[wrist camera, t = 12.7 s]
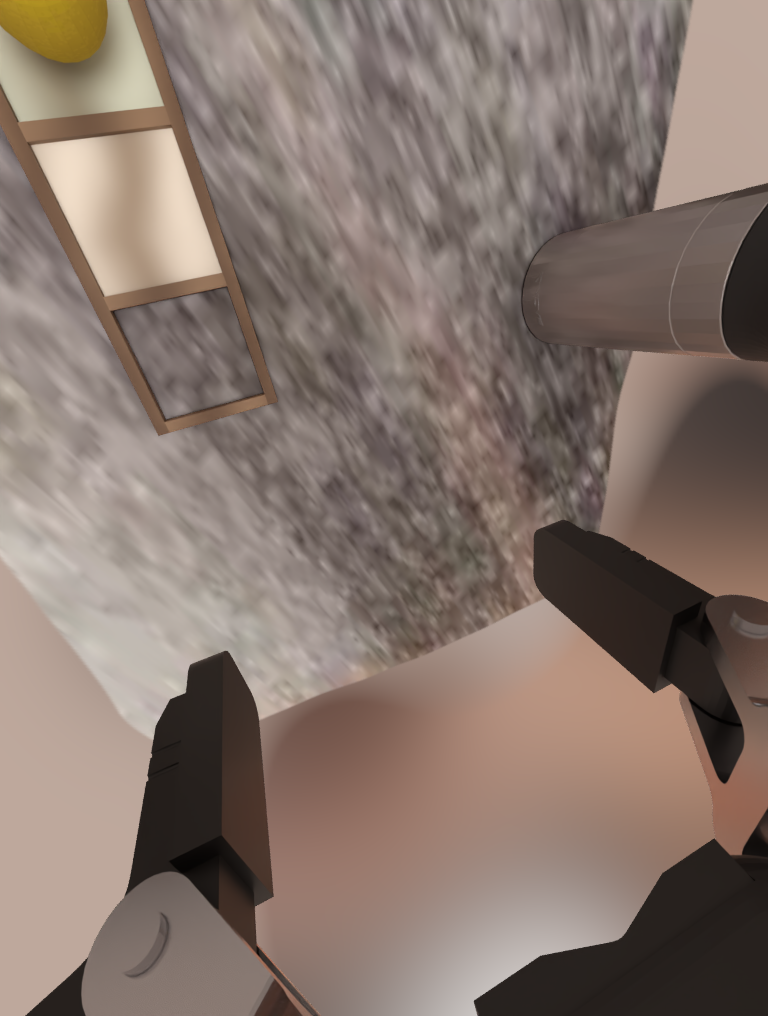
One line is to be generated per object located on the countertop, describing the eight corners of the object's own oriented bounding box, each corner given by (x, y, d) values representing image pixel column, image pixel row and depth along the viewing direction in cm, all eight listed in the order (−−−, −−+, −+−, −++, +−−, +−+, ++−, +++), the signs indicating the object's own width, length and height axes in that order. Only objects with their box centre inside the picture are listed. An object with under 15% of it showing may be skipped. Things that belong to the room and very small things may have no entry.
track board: (103, -120, 19) (99, -136, 19) (276, 400, 32) (278, 401, 32) (-120, -122, 17) (-134, -140, 17) (160, 433, 30) (158, 435, 30)
